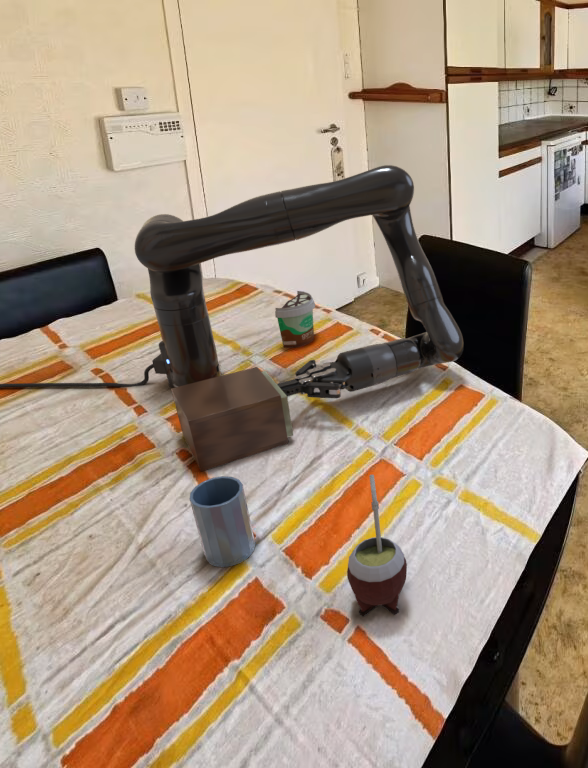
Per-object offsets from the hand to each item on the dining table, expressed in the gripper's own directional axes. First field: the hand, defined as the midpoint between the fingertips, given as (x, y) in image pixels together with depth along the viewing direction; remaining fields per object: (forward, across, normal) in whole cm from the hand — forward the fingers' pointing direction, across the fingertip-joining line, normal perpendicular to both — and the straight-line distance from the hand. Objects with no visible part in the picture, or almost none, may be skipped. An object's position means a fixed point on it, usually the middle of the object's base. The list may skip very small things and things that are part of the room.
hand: (277, 391), depth 109 cm
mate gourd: (+4, +46, +7) cm, 47 cm away
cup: (+17, +27, +7) cm, 33 cm away
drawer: (+6, 0, +6) cm, 9 cm away
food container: (-17, -33, +7) cm, 38 cm away
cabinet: (+8, 0, +7) cm, 11 cm away
